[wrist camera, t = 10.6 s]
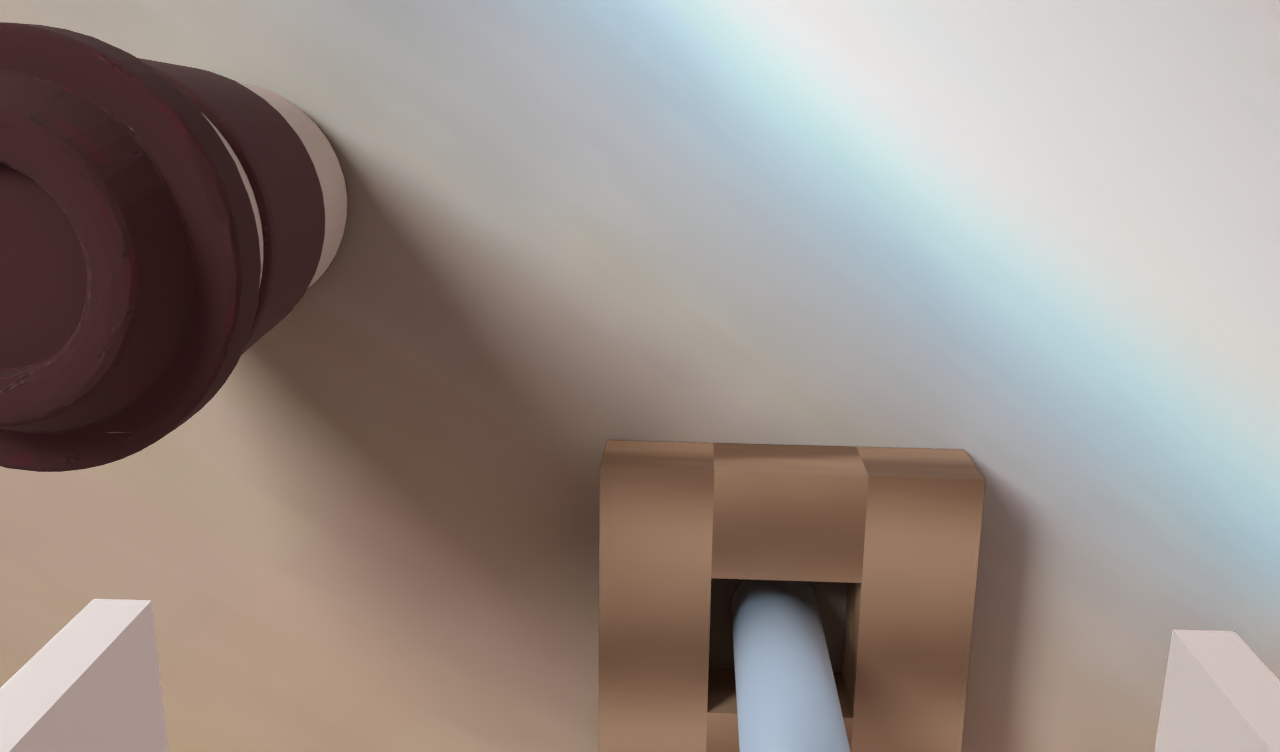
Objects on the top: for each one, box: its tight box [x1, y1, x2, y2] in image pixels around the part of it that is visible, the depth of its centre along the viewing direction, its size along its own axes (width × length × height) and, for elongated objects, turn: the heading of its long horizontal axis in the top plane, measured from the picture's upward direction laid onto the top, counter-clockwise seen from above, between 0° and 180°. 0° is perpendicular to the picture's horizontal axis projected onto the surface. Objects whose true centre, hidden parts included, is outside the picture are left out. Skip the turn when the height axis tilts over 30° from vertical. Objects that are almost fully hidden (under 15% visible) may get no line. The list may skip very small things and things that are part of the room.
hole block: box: [599, 440, 985, 752], centre depth 40 cm, size 12×12×3 cm
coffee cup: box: [0, 23, 347, 472], centre depth 32 cm, size 10×10×15 cm
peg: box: [731, 579, 851, 752], centre depth 36 cm, size 3×3×11 cm
